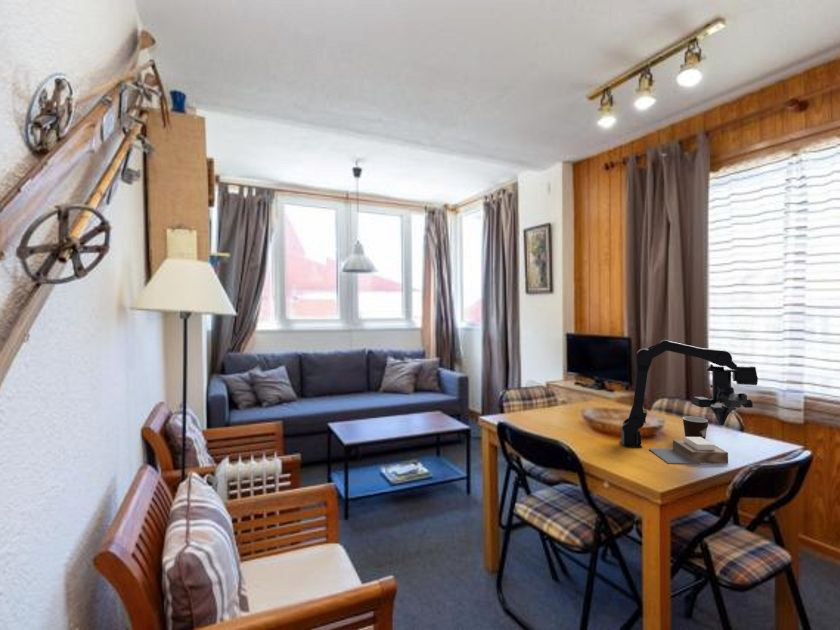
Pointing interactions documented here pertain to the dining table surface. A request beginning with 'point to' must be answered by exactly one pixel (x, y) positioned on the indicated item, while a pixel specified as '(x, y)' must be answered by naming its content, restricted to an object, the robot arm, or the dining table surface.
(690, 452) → the block
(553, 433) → the dining table surface
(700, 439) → the ceramic tile
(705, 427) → the coffee mug
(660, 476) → the dining table surface
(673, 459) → the charcoal mat
